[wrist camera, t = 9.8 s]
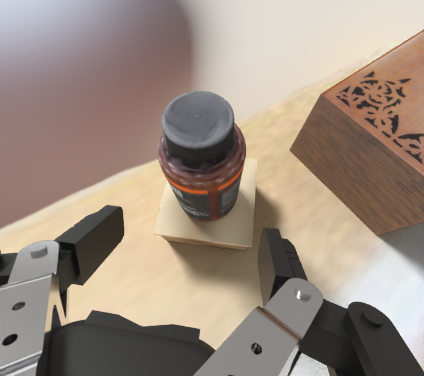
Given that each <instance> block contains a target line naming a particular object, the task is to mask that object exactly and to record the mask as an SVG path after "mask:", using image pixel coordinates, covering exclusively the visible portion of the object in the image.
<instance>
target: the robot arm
mask: <svg viewBox="0 0 424 376" xmlns="http://www.w3.org/2000/svg"><path fill="white" fill-rule="evenodd" d="M123 236H124V220H123V210H122V208H121V207H119V206H111V205H106V206H105V207H103V208H102V209H101V210H99V211H98V212H96V213H93V214H91V215H88V216H86V217H85V218H84V219H82V220H81V221H80V222H78V223H77V224H75V225H74V227H71V228H70V229H69V230H67V231H66V232H64V233H63V234H62V235H60V236H59V237H58V238H56V239H55V240H54V241H50V240H47V241H40V242H36V243H33V244H30V245H28V246H26V247H25V248H23V249H22V250H21V251H20V252H19V253H8V254H1V251H0V376H291V375H292V373H293V371H294V369H295V367H296V365H297V363H298V361H299V359H300V357H301V356H302V354H305V355H307V356H309V357H311V358H313V359H315V360H317V361H319V362H321V363H323V364H325V365H327V367H328V371H329V374H330V376H424V371H423V370H422V368H421V367H420V365H419V363H418V362H417V360H416V359H415V357H414V356H413V354H412V353H411V351H410V350H409V348H408V346H407V345H406V343H405V342H404V340H403V339H402V337H401V336H400V334H399V332H398V331H397V329H396V328H395V326H394V325H393V323H392V322H391V321H390V319H389V318H388V317H387V316H386V315H385V314H383V313H382V312H381V311H379V310H378V309H376V308H375V307H373V306H371V305H369V304H366V303H362V302H352V303H351V304H350V305H349V306H348V308H347V309H346V308H344V307H341V306H339V305H336V304H334V303H331V302H329V301H327V300H325V299H323V296H322V294H321V292H320V291H319V290H318V288H317V287H316V286H314V285H313V284H312V283H310V282H308V280H307V277H306V275H305V272H304V270H303V267H302V264H301V262H300V260H299V257H298V254H297V252H296V249H295V247H294V245H293V244H292V243H291V242H290V241H289V240H288V239H282V238H281V235H280V232H279V229H278V228H270V227H264V228H263V232H262V236H261V241H260V246H259V251H258V266H259V274H260V282H261V290H262V298H263V307H264V308H261V307H260V306H257V307H256V308H255V309H254V310H253V311H252V312H251V313H250V314H249V315H248V316H247V317H246V318H245V320H244V321H243V322H242V323H241V324H240V325H239V326H238V327H237V328H236V329H235V331H234V332H233V333H232V334H231V335H230V336H229V337H228V338H227V339H226V340H225V341H224V343H223V344H222V345H221V346H220V347H219V348H218V349H217V350H215V349H213V348H212V347H211V346H210V345H208V344H207V343H205V342H204V341H202V340H200V339H199V335H200V329H197V328H191V327H185V326H180V325H174V324H171V325H158V326H146V327H143V326H140V325H138V324H136V323H134V322H132V321H130V320H128V319H126V318H124V317H122V316H120V315H117V314H112V313H106V312H100V311H94V310H92V312H91V313H90V315H89V316H88V317H87V319H86V320H80V321H75V322H72V323H68V322H69V289H68V287H69V286H70V285H71V284H76V285H82V286H83V285H84V283H85V282H86V281H87V280H88V279H89V278H90V277H91V275H92V274H93V273H94V272H95V271H96V270H97V268H98V267H99V266H100V265H101V264H102V263H103V261H104V260H105V259H106V258H107V257H108V256H109V254H110V253H111V252H112V251H113V250H114V249H115V248H116V246H117V245H118V244H119V243H120V242H121V240H122V238H123Z"/></svg>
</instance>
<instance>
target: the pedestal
mask: <svg viewBox="0 0 424 376" xmlns="http://www.w3.org/2000/svg"><path fill="white" fill-rule="evenodd" d="M256 171H257V159H252V158H245V162H244V167H243V172H242V177H241V182H240V187H239V191H238V196H237V200H236V203H235V205H234V207H233V208H232V210H231V211H230V212H229V213H228V214H227V215H226V216H224V217H223V218H221V219H218V220H215V221H209V222H205V221H199V220H196V219H194V218H192V217H190V216H189V215H188V214H187V213H186V212H185V211H184V210H183V209H182V207H181V206H180V204H179V202H178V200H177V198H176V196H175V194H174V192H173V190H172V188H171V187H170V185H169V183H168V181H167V179H166V182H165V187H164V191H163V195H162V199H161V203H160V208H159V212H158V216H157V220H156V224H155V229H154V233H153V234H154V235H159V236H162V237H163V238H164V239H165V240H167V241H173V242H180V243H188V244H196V245H203V246H211V247H219V248H226V249H234V250H241V251H244V250H245V249H246V248H247V247H252V245H253V226H254V208H255V189H256Z"/></svg>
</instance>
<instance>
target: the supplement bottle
mask: <svg viewBox="0 0 424 376" xmlns="http://www.w3.org/2000/svg"><path fill="white" fill-rule="evenodd" d="M161 123H162V128H163V133H162V135H161V137H160V140H159V143H158V159H159V163H160V166H161V168H162V170H163V172H164V175H165V177H166V179H167V181H168V183H169V185H170V187H171V188H172V190H173V192H174V194H175V196H176V198H177V200H178V202H179V204H180V206H181V207H182V209H183V210H184V211H185V212H186V213H187V214H188V215H189V216H190V217H192V218H194V219H196V220H199V221H205V222H209V221H215V220H218V219H221V218H223V217H224V216H226V215H227V214H228V213H229V212H230V211H231V210H232V208H233V207H234V205H235V203H236V200H237V196H238V191H239V187H240V182H241V177H242V172H243V167H244V162H245V157H246V144H245V139H244V136H243V134H242V132H241V130H240V128H239V127H238V126H237V125H236V124H235V123H234V113H233V110H232V108H231V106H230V104H229V103H228V102H227V101H226V100H224V98H222V97H220V96H219V95H217V94H214V93H211V92H207V91H193V92H188V93H185V94H182V95H180V96H178V97H176V98H175V99H173V100H172V101H171V102H170V103H169V104H168V106H167V107H166V108H165V111H164V112H163V116H162V122H161Z"/></svg>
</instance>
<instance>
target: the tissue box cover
mask: <svg viewBox="0 0 424 376" xmlns="http://www.w3.org/2000/svg"><path fill="white" fill-rule="evenodd" d="M290 151H291V152H292V153H293V154H294V155H295V156H296V157H297V158H298V159H299V160H300V161H301V162H302V163H303V164H304V165H305V166H306V167H307V168H308V169H309V170H310V171H311V172H312V173H313V174H314V175H315V176H316V177H317V178H318V179H319V180H320V181H321V182H323V183H324V184H325V185H326V186H327V187H328V188H329V189H330V190H331V191H332V192H333V193H334V194H335V195H336V196H337V197H338V198H339V199H340V200H341V201H342V202H343V203H344V204H345V205H346V206H347V207H348V208H349V209H350V210H351V211H352V212H353V213H354V214H355V215H356V216H357V217H358V218H359V219H360V220H361V221H362V222H363V223H364V224H365V225H366V226H367V227H368V228H369V229H370V230H371V231H372V232H373V233H375V234H376V235H379V234H383V233H386V232H390V231H393V230H397V229H401V228H404V227H408V226H411V225H415V224H418V223H422V222H424V30H423V31H421V32H419V33H418V34H416V35H414V36H413V37H411V38H410V39H408V40H406V41H405V42H403V43H402V44H400V45H398V46H397V47H395V48H394V49H392V50H390V51H389V52H387V53H386V54H384V55H382V56H381V57H379V58H378V59H376V60H374V61H373V62H371V63H370V64H368V65H366V66H365V67H363V68H362V69H360V70H358V71H357V72H355V73H354V74H352V75H350V76H349V77H347V78H346V79H344V80H342V81H341V82H339V83H338V84H336V85H334V86H333V87H331V88H330V89H328V90H326V91H325V92H323V93H322V94H321V95H320V96H319V98H318V100H317V102H316V104H315V105H314V107H313V109H312V111H311V113H310V114H309V116H308V118H307V120H306V122H305V123H304V125H303V127H302V129H301V130H300V132H299V134H298V136H297V138H296V139H295V141H294V143H293V145H292V147H291V148H290Z"/></svg>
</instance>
